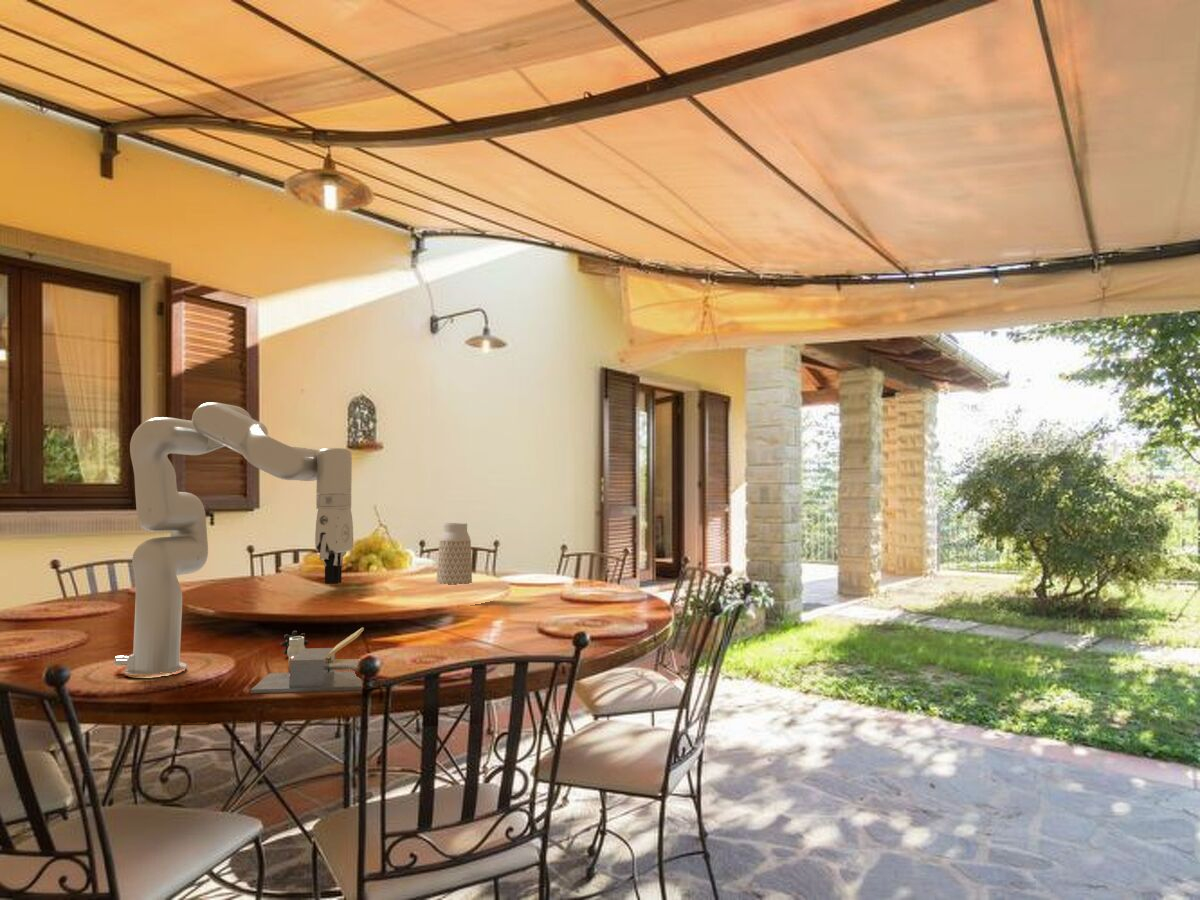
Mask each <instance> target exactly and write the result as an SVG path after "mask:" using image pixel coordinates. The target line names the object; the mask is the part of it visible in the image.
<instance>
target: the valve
mask: <svg viewBox="0 0 1200 900" xmlns="http://www.w3.org/2000/svg"><path fill="white" fill-rule="evenodd" d="M305 637H306V634H305V633H301V634H300V635H298V631H297V630H293V631H292V635H289V634H284V639H285V642H284V641H283V642H281V643H280V647H281V648H285V649H284V650H283V654H284V655H287V657H288V661H289V660H290V657H291V656H295V655H297V654H298V653H299V652H300V651H301V650H302V649H306V647H305V646H308V645H309V641H308V640H305ZM288 644H289V646H288Z"/></svg>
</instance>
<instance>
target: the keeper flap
mask: <svg viewBox="0 0 1200 900" xmlns="http://www.w3.org/2000/svg"><path fill="white" fill-rule="evenodd" d="M364 630H365V627H363V626H362V627H361V628H360V629H358V630H357V631H355V632H354V633H352V634H350V635H349V636H347V637H346V638H345V639H343V640H342V641H340V642H339V643H337V644H336V645H335V646H334V647H332V648H333V649H332V651H331V652H330V653H329V654H328V655H327V656H326V660H329V659H330V657H331V656H332V655H333V654H334V653H335V654H336V653H337V652H338V651H339V650H341V649H343V648H344V647H346V646H347V645H349V644H350V643H352V642H353V641H355V640H356V639H357V638H358V637H359V636H360V635H361V634H362V632H363V631H364Z"/></svg>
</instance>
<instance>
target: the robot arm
mask: <svg viewBox="0 0 1200 900" xmlns="http://www.w3.org/2000/svg"><path fill="white" fill-rule="evenodd" d="M268 434H269V433H268V428H267V426H266V425H265V424H264V423H262V422H260V421H258V420H256V419H253V418H252V415H250V413H249V412H248V411H247V410H246V409H245V408H242V407H241V406H238V405H233V404H227V403H223V402H222V403H221V402H213V401H212V402H205V403H202V404H200V405H199V406H197V408H195V410H194V411H193V413H192V417H191V420H190V419H189V420H187V419H181V418H175V417H167V416H166V417H164V416H162V417H159V416H158V417H153V418H150V419H147V420H145V421H144V422H142V423H141V424H139V425H138V427H136V429H135V430H134V432H133V433H132V436H131V439H130V442H129V453H130V459H131V464H132V468H133V474H134V492H135V505H136V506H135V507H136V518H137V522H138V525H139V526H140V527H141V528H142V529H143V530H144V531H146V532H147V531H148V532H152V533H153V532H154V533H155V532H169V533H170V536H161V537H153V538H149V539H147V540H145V541H143V542H141V543H140V544H139V545H138V546H137V547H135V550H134V552H133V553H132V557H131V558H132V560H131V562H132V563H131V564H132V571H133V575H134V582H135V586H134V587H135V599H134V601H135V602H134V605H135V606H134V607H135V608H134V609H135V610H134V626H133V627H134V628H133V649H132V653H131V654H130V655H116V656H115V658H114V660H113V663H114V665H115V667H116V666H126V667H127V668H126V669H125V670H124V671H123V674H124V673H126V674H129V675H152V674H162V673H172V672H176V671H179V670H182V669H184V668H186V667H187V668H188V664H187V663H185V662H182V661H181V659H180V657H181V642H182V641H181V638H182V637H181V636H182V617H183V613H182V612H183V591H182V586H181V584H180V582H179V580H178V576H183V575H189V574H193V573H196V572H198V571H200V570H202V568H203V567H204V566H205V565H206V562H207V560H208V557H209V556H208V555H209V543H208V541H209V540H208V532H207V531H208V530H207V529H208V528H207V519H206V518H207V516H206V510H205V506H204V504H203V502H202V500H201V499H200V498H199V497H198V496H197V495H195V494H193V493H191V492H186V491H178V487H177V473H176V470H175V468H174V466H173V463H172V462H171V460H170V459H169V457H168V455H169V454H173V455H175V454H176V455H186V456H199V455H204V454H207V453H210V452H213V451H215V450H219V449H222V448H224V447H226V448H227V449H230V450H232V451H233V452H236V453H238V454H240V455H242V456H243V458H244V459H245V460H246V461H247V462H248V463H249V464H250V465H252V466H254V467H255V468H257V469H259V470H260V471H264V472H265V473H267V474H269V475H271V476H273V477H276V478H278V479H281V480H286V481H300V482H301V481H302V482H310V481H311V482H312V481H316V492H315V493H316V497H315V498H316V501H315V502H316V503H315V504H316V510H317V513H316V520H315V521H316V522H315V532H314V533H315V534H314V535H315V537H314V543H315V546H314V547H315V551H316V552H317V553H319V558H320V559H321V560H322V561H323V565H324V583H325V584H326V585H338V584H341V583H342V581H343V580H342V576H343V575H342V570H343V566H342V565H343V561H344V557H345V556H346V555H347V552H349V551H352V550H353V549H354V523H353V514H352V481H353V479H352V476H353V475H352V473H353V471H352V470H353V469H352V467H353V466H352V463H353V462H352V461H353V458H352V457H353V456H352V453H351V450H349V449H347V448H343V447H342V448H341V447H325V448H320V449H314V448H306V447H297V446H291V445H288V444H285V443H283V442H281V441H278V440H276V439H275V438H273V437H271V436H269V435H268ZM160 672H162V673H160Z"/></svg>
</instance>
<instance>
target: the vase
mask: <svg viewBox="0 0 1200 900" xmlns="http://www.w3.org/2000/svg"><path fill="white" fill-rule="evenodd" d="M471 541H472V540H471V537H470V535H469V533H468V523H467V522H466V523H465V522H445V523H443V531H442V534H441V536H440V539H439V542H438V543H439V545H438V555H437V556H438V557H437V568H436V569H437V570H436V581H435V582H436V583H438V584H448V585H457V584H469V583H472V584H473V576H472V575H473V574H472V573H473V571H472V544H471V543H472V542H471Z"/></svg>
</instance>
